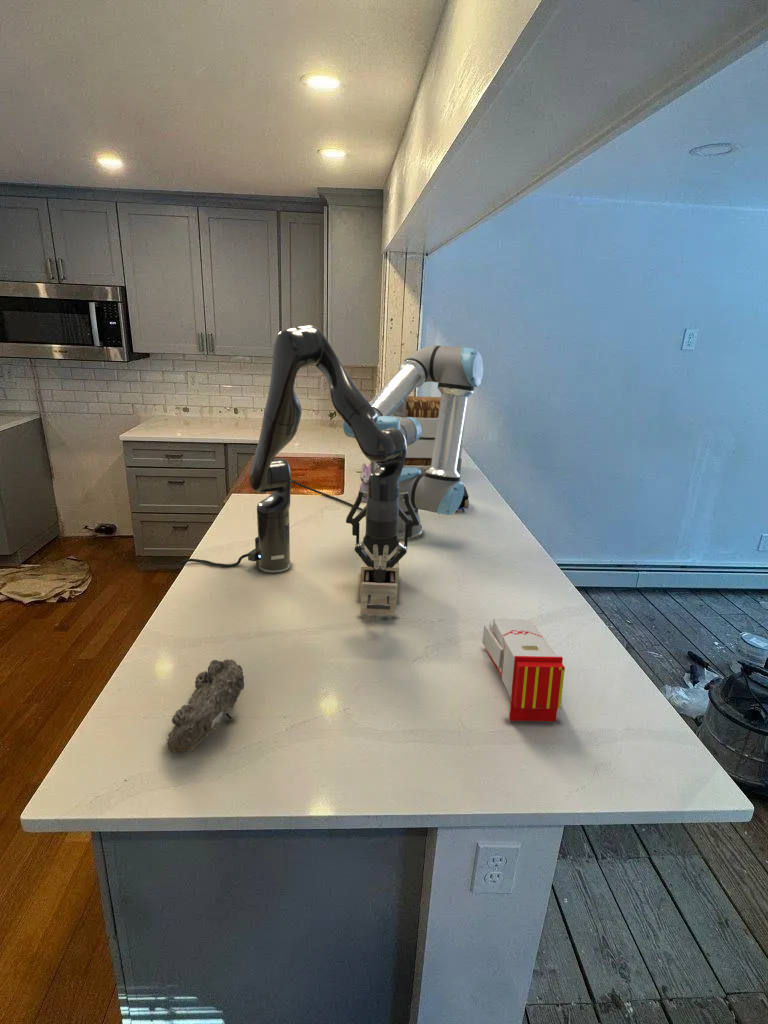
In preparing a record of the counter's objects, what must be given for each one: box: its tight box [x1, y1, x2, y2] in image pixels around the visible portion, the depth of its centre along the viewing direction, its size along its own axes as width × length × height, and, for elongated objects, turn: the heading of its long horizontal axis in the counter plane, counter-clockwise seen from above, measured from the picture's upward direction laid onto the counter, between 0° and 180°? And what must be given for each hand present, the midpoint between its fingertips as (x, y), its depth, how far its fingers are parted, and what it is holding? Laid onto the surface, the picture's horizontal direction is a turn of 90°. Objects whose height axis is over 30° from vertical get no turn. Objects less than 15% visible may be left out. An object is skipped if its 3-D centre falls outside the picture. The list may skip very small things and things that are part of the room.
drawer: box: [360, 570, 397, 616], centre depth 148 cm, size 21×9×8 cm, turn 0°
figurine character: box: [455, 486, 470, 513], centre depth 227 cm, size 7×8×15 cm
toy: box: [481, 618, 566, 722], centre depth 122 cm, size 12×13×30 cm
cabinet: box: [359, 546, 400, 604], centre depth 159 cm, size 16×10×10 cm, turn 179°
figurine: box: [359, 463, 371, 503], centre depth 232 cm, size 9×10×15 cm
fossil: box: [166, 658, 245, 754], centre depth 106 cm, size 22×10×15 cm
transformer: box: [391, 395, 465, 482], centre depth 268 cm, size 34×33×41 cm
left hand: (379, 581), depth 138 cm, fingers closed
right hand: (381, 546), depth 161 cm, fingers open, 13 cm apart
